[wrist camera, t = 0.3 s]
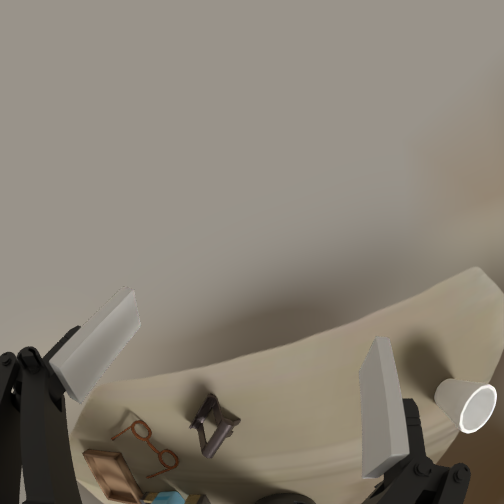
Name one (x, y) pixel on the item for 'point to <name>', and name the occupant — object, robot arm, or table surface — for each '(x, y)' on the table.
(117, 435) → the glasses
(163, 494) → the data package
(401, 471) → the robot arm
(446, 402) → the foam cup
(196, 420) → the portable electronic device stand
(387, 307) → the table surface
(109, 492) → the tray
